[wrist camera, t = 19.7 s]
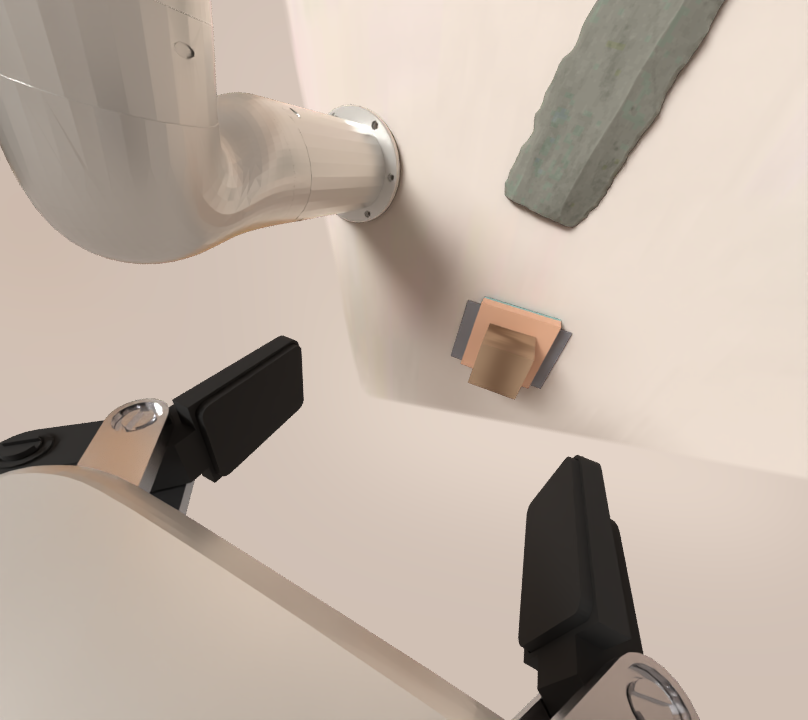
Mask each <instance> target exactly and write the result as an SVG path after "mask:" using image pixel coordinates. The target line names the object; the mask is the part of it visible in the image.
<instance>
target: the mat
mask: <svg viewBox="0 0 808 720" xmlns="http://www.w3.org/2000/svg"><path fill="white" fill-rule="evenodd" d="M480 306H481V304H479V303H475V302H472V301H469V300H468V302H467V305H466V309H465V312H464V315H463V318H462V321H461V325H460V328H459V331H458V334H457V337H456V341H455V344H454V347H453V350H452V353H451V356H452V357H455V358H458V359H461V360H462V358H463V355H464V352H465V349H466V347H467V344H468V341H469V338H470V335H471V332H472V329H473V326H474V323H475V320H476V317H477V314H478V312H479V309H480ZM571 335H572V333H570V332H567V331H564V330H561V329H560V331H559V333H558V334H557V336H556V338H555V340H554V342H553V344H552V345H551V347H550V349H549V351H548V353H547V355H546V357H545V358H544V360H543V362H542V364H541V366H540V368H539V370H538V371H537V373H536V375H535V377H534V379H533V381H532V382H531V384H530V385H532V386H534V387H537V388H540V389H541V387H542V385H543V383H544V382H545V380H546V378H547V376H548V375H549V373H550V371H551V369H552V368H553V366H554V364H555V362H556V361H557V359H558V357H559V355H560V354H561V352H562V350H563V348H564V347H565V345H566V343H567V342H568V340H569V338H570V336H571Z"/></svg>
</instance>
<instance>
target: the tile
mask: <svg viewBox="0 0 808 720" xmlns="http://www.w3.org/2000/svg"><path fill="white" fill-rule="evenodd" d="M490 323H491V324H494V325H497V326H501V327H504V328H507V329H510V330H513V331H517V332H520V333H523V334H526V335H529V336H533V337H536V343H535V355H534V362H533V364H532V366H531V368H530V370H529V372H528V374H527V376H526V378H525V380H524V382H523V384H522V387H525V388H529V386H530V384H531V382H532V381H533V379H534V377H535V375H536V373H537V371H538V370H539V368H540V366H541V364H542V362H543V360H544V358H545V357H546V355H547V353H548V351H549V349H550V347H551V345H552V344H553V342H554V340H555V338H556V336H557V334H558V333H559V331H560V329H561V320H559V319H556V318H553V317H550V316H546V315H543V314H540V313H537V312H533V311H530V310H527V309H524V308H521V307H517V306H514V305H511V304H508V303H504V302H501V301H498V300H495V299H491V298H488V297H484V299H483V301H482V303H481V306H480V309H479V312H478V314H477V317H476V320H475V323H474V326H473V329H472V332H471V335H470V338H469V341H468V344H467V347H466V349H465V352H464V355H463V358H462V361H461V364H463V365H465V366H468V367H471V368H473V367H474V364H475V361H476V358H477V355H478V353H479V350H480V347H481V344H482V341H483V339H484V337H485V334H486V332H487V329H488V327H489V324H490Z"/></svg>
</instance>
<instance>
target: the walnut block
mask: <svg viewBox="0 0 808 720" xmlns="http://www.w3.org/2000/svg"><path fill="white" fill-rule="evenodd" d="M535 343H536V337H533V336H529V335H526V334H523V333H520V332H517V331H513V330H510V329H507V328H504V327H501V326H497V325H494V324H491V323H490V324H489V327H488V329H487V332H486V334H485V337H484V339H483V341H482V344H481V347H480V350H479V353H478V355H477V358H476V361H475V364H474V367H473V370H472V372H471V375H470V378H469V381H468V383H471V384H473V385H476V386H479V387H482V388H484V389H487V390H490V391H492V392H495V393H498V394H501V395H503V396H506V397H509V398H512V399H514V400H515V398H516V396H517V394H518V392H519V390H520V388H521V386H522V384H523V382H524V380H525V378H526V376H527V374H528V372H529V370H530V368H531V366H532V364H533V362H534V355H535Z"/></svg>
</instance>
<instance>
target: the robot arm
mask: <svg viewBox="0 0 808 720" xmlns="http://www.w3.org/2000/svg"><path fill="white" fill-rule="evenodd" d="M157 1H158V2H157ZM159 2H160V3H159ZM164 4H165V5H164ZM166 5H167V6H166ZM168 6H169V7H168ZM173 8H174V9H173ZM175 9H176V10H175ZM177 10H178V11H177ZM182 12H183V13H182ZM184 13H185V14H184ZM186 14H187V15H186ZM191 16H192V17H191ZM193 17H194V18H193ZM195 18H196V19H195ZM198 19H199V20H198ZM200 20H201V21H200ZM202 21H203V22H202ZM204 22H205V23H204ZM207 23H208V24H207ZM209 24H210V25H209ZM211 25H213V22H212V6H211V0H156V1H155V0H0V146H1V148H2V150H3V152H4V155H5V157H6V159H7V161H8V163H9V165H10V167H11V169H12V171H13V173H14V175H15V177H16V178H17V180H18V182H19V184H20V185H21V187H22V188H23V190H24V191H25V193H26V195H27V196H28V198H29V199H30V201H31V202H32V204H33V205H34V206H35V208H36V209H37V210H38V212H39V213H40V214H41V215H42V216H43V217H44V218H45V219H46V220H47V221H48V222H49V223H50V225H51V226H52V227H53V228H54V229H56V230H57V231H58V232H59V233H60V234H62V235H63V236H64V237H66V238H67V239H68V240H70V241H71V242H73V243H75V244H76V245H78V246H80V247H82V248H83V249H85V250H87V251H89V252H91V253H94V254H97V255H99V256H102V257H105V258H108V259H111V260H116V261H121V262H126V263H135V264H160V263H167V262H174V261H178V260H182V259H186V258H189V257H192V256H195V255H198V254H200V253H203V252H205V251H207V250H209V249H211V248H213V247H215V246H217V245H219V244H221V243H223V242H225V241H227V240H229V239H231V238H233V237H235V236H238V235H240V234H243V233H246V232H249V231H253V230H256V229H260V228H264V227H269V226H274V225H279V224H284V223H290V222H296V221H302V220H307V219H312V218H318V217H323V216H328V215H334V214H336V215H338V216H339V217H341V218H343V219H345V220H348V221H351V222H366V221H370V220H372V219H375V218H377V217H378V216H380V215H381V214H382V213H383V212H385V210H386V209H387V208H388V207H389V206H390V204H391V202H392V200H393V198H394V197H395V194H396V191H397V188H398V183H399V177H400V162H399V154H398V150H397V146H396V143H395V140H394V138H393V136H392V134H391V132H390V130H389V128H388V127H387V126H386V124H385V123H384V121H383V120H382V119H381V118H380V117H379V116H378V115H377V114H375V113H374V112H372V111H370V110H369V109H367V108H364V107H361V106H357V105H352V104H350V105H342V106H340V107H337V108H335V109H333V110H332V111H331V112H329V113H328V114H324V113H320V112H317V111H313V110H309V109H306V108H302V107H298V106H294V105H291V104H287V103H284V102H279V101H276V100H272V99H269V98H265V97H262V96H258V95H254V94H250V93H242V92H234V93H226V94H221V95H218V96H217V94H216V76H215V75H216V74H215V53H214V33H213V26H211ZM377 124H378V129H377ZM392 176H394V179H392ZM369 212H370V214H369ZM172 401H173V403H174V405H172V406H170V407H168V405H167V403H165V402H164V401H162V400H158V399H140V400H135V401H132V402H129V403H126V404H124V405H122V406H120V407H118V408H117V409H115V410H114V411H112V412H111V413H110V414H109V415H108V416H107V417H106V419H105V420H104V421H97V422H90V423H82V424H75V425H67V426H60V427H53V428H46V429H38V430H33V431H28V432H24V433H22V434H19V435H16V436H13V437H11V438H9V439H7V440H4V441H2V442H1V443H0V720H504V719H503V718H501V717H500V716H498V715H497V714H495V713H494V712H492V711H491V710H489V709H488V708H486V707H485V706H483V705H482V704H480V703H479V702H477V701H476V700H474V699H473V698H471V697H470V696H468V695H467V694H465V693H464V692H462V691H461V690H459V689H458V688H456V687H455V686H453V685H452V684H450V683H449V682H447V681H446V680H444V679H443V678H441V677H440V676H438V675H437V674H435V673H434V672H432V671H431V670H429V669H428V668H426V667H424V666H423V665H421V664H420V663H418V662H417V661H415V660H413V659H412V658H410V657H409V656H407V655H406V654H404V653H402V652H401V651H399V650H398V649H396V648H394V647H393V646H392V645H390V644H388V643H387V642H385V641H383V640H382V639H380V638H379V637H378V636H376V635H374V634H373V633H371V632H369V631H368V630H367V629H365V628H363V627H362V626H360V625H359V624H357V623H356V622H354V621H352V620H351V619H349V618H348V617H346V616H345V615H343V614H342V613H340V612H338V611H337V610H335V609H334V608H332V607H331V606H329V605H327V604H326V603H324V602H323V601H321V600H319V599H318V598H316V597H315V596H313V595H311V594H310V593H308V592H307V591H305V590H304V589H302V588H301V587H299V586H297V585H296V584H294V583H293V582H291V581H289V580H288V579H286V578H285V577H283V576H281V575H280V574H278V573H277V572H275V571H274V570H272V569H270V568H269V567H267V566H266V565H264V564H262V563H261V562H259V561H258V560H256V559H255V558H253V557H252V556H250V555H248V554H247V553H245V552H244V551H242V550H240V549H239V548H237V547H236V546H234V545H232V544H231V543H229V542H228V541H226V540H224V539H223V538H221V537H219V536H218V535H216V534H215V533H213V532H212V531H210V530H208V529H207V528H205V527H204V526H202V525H200V524H199V523H197V522H196V521H194V520H192V519H191V518H189V517H188V516H186V512H187V508H188V504H189V500H190V496H191V493H192V488H193V485H194V481H195V479H196V478H197V477H198V476H199V475H201V474H202V475H203V476H204V477H206V478H208V479H209V480H211V481H213V482H214V483H215V482H217V481H218V480H219V479H220V478H221V477H222V476H227V475H228V474H230V473H231V472H232V471H233V470H234V469H235V468H236V467H238V466H239V465H240V464H241V463H242V462H243V461H244V460H245V459H246V458H247V457H248V456H249V455H250V454H251V453H253V452H254V451H255V450H256V449H257V448H258V447H259V446H260V445H261V444H262V443H263V442H264V441H265V440H266V439H267V438H268V437H270V436H271V435H272V434H273V433H274V432H275V431H276V430H277V429H278V428H279V427H280V426H281V425H283V424H284V423H285V422H286V421H287V420H288V419H289V418H290V417H291V416H292V415H293V414H294V413H295V412H297V411H298V410H299V409H300V407H301V406H302V404H303V401H304V397H303V376H302V354H301V348H300V347H299V344H298V342H297V341H295V340H293V339H290V338H288V337H285V336H279V337H277V338H275V339H274V340H272V341H270V342H269V343H267V344H265V345H264V346H262V347H260V348H259V349H257V350H255V351H254V352H252V353H250V354H249V355H247V356H245V357H244V358H242V359H240V360H239V361H237V362H235V363H233V364H232V365H230V366H228V367H227V368H225V369H223V370H222V371H220V372H218V373H217V374H215V375H214V376H212V377H210V378H208V379H207V380H205V381H203V382H202V383H200V384H198V385H196V386H195V387H193V388H192V389H190V390H188V391H186V392H185V393H183V394H181V395H180V396H178V397H176V398H175V399H173V400H172ZM518 638H519V644H520V646H521V647H523V648H524V663H525V664H527V665H529V666H531V667H533V668H534V669H536V670H537V671H538V687H537V689H538V691H539V694H538V695H537V696H536V697H535V698H534V699H533V700H532V701H530V703H528V704H527V705H526V706H525V707H524V708H523V709H522V710H521V711H520V712H519V713H518V714H517V715H516V716H515V717H514V718H513V719H512V720H700V719H699V717H698V715H697V713H696V711H695V709H694V707H693V705H692V703H691V701H690V699H689V698H688V696H687V695H686V693H685V692H684V690H683V689H682V688H681V686H680V685H679V683H678V682H677V681H676V680H675V679H674V678H673V677H672V676H671V674H670V673H669V672H668V671H667V670H666V669H665V668H664V667H662V666H661V665H660V664H658V663H657V662H656V661H654V660H653V659H652V658H650V657H648V656H646V655H643V650H642V645H641V640H640V635H639V629H638V624H637V619H636V614H635V609H634V604H633V598H632V593H631V588H630V583H629V578H628V573H627V567H626V562H625V557H624V552H623V547H622V542H621V537H620V532H619V529H618V526H617V524H616V523H615V522H614V521H613V520H611V519H610V515H609V509H608V503H607V498H606V492H605V486H604V480H603V475H602V470H601V466H600V464H599V463H597V462H594V461H592V460H589V459H586V458H584V457H582V456H579V455H576V456H575V457H574V458H571V457H567V458H566V459H565V460H564V461H563V463H562V464H561V465H560V466H559V468H558V469H557V470H556V472H555V473H554V474H553V475H552V477H551V478H550V479H549V480H548V482H547V483H546V484H545V486H544V487H543V488H542V489H541V491H540V492H539V493H538V494H537V496H536V497H535V498H534V500H533V501H532V502H531V504H530V505H529V508H528V511H527V519H526V533H525V547H524V562H523V578H522V591H521V605H520V620H519V636H518Z"/></svg>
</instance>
